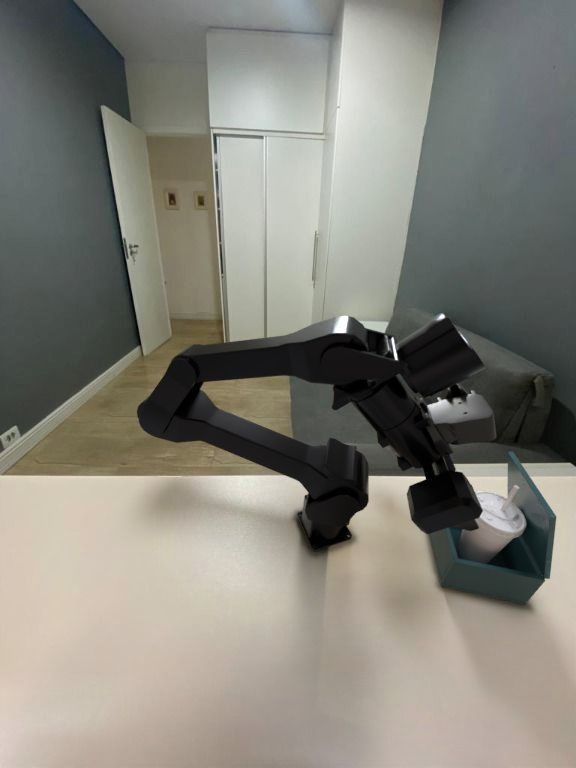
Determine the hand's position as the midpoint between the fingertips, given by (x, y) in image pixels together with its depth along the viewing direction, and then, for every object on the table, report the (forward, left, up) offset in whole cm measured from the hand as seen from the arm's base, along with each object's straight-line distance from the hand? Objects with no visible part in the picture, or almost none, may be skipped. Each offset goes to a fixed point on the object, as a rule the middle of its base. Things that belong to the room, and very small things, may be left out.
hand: (462, 497), depth 39 cm
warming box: (+4, -2, -11) cm, 12 cm away
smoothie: (+4, -2, -11) cm, 12 cm away
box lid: (+6, -4, -1) cm, 8 cm away
